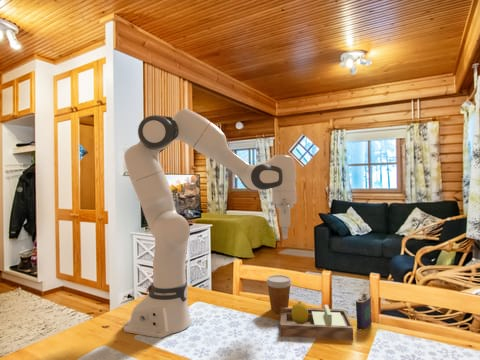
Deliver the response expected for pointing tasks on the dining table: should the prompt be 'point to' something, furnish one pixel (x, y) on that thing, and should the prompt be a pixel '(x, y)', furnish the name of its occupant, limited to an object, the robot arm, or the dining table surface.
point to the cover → (328, 317)
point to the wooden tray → (314, 326)
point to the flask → (363, 311)
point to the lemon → (299, 313)
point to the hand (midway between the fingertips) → (285, 236)
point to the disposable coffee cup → (278, 292)
